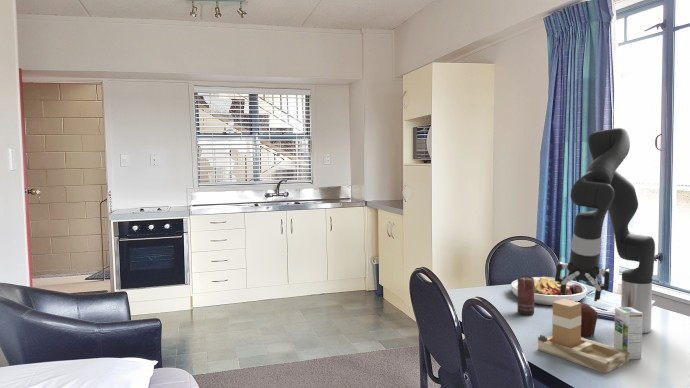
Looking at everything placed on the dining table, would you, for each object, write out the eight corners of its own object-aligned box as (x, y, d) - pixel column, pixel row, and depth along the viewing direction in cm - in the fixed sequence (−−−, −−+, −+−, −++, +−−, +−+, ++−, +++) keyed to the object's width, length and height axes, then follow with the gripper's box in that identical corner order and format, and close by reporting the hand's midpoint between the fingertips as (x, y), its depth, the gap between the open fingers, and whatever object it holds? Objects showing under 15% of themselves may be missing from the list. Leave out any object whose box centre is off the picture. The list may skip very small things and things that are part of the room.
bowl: (497, 297, 224) (497, 279, 224) (532, 284, 244) (532, 267, 244) (566, 313, 202) (566, 293, 201) (598, 296, 222) (599, 278, 221)
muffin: (603, 332, 180) (604, 304, 179) (590, 341, 172) (591, 311, 172) (568, 324, 189) (569, 297, 188) (555, 332, 181) (555, 304, 180)
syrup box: (612, 352, 163) (613, 307, 161) (630, 351, 163) (631, 306, 162) (623, 360, 157) (625, 313, 156) (642, 358, 158) (643, 312, 156)
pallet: (561, 340, 174) (561, 326, 174) (628, 361, 156) (629, 346, 155) (537, 349, 167) (537, 335, 166) (605, 373, 149) (605, 357, 148)
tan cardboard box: (563, 343, 170) (563, 298, 168) (580, 349, 165) (581, 303, 163) (552, 348, 166) (552, 302, 165) (569, 354, 161) (570, 306, 160)
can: (517, 315, 200) (517, 279, 199) (518, 310, 206) (518, 275, 205) (533, 316, 198) (534, 280, 197) (534, 311, 204) (534, 276, 202)
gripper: (614, 246, 148) (606, 295, 154) (560, 238, 154) (555, 285, 160) (613, 258, 141) (605, 309, 148) (557, 250, 148) (552, 298, 154)
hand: (579, 296), depth 154 cm, fingers open, 8 cm apart
